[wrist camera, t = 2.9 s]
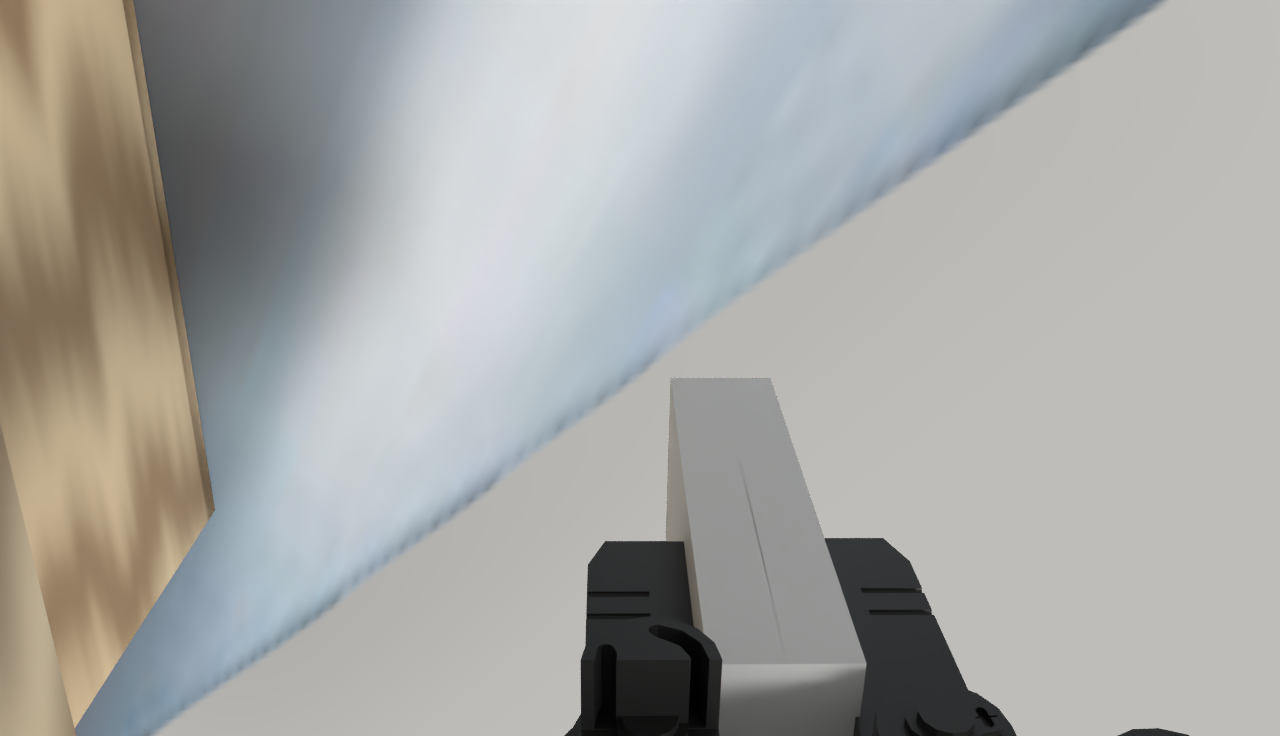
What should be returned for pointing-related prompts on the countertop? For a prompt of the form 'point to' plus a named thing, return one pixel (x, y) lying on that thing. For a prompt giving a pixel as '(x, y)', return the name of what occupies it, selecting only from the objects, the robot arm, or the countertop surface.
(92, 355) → the wooden box
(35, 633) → the flap
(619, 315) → the countertop surface
